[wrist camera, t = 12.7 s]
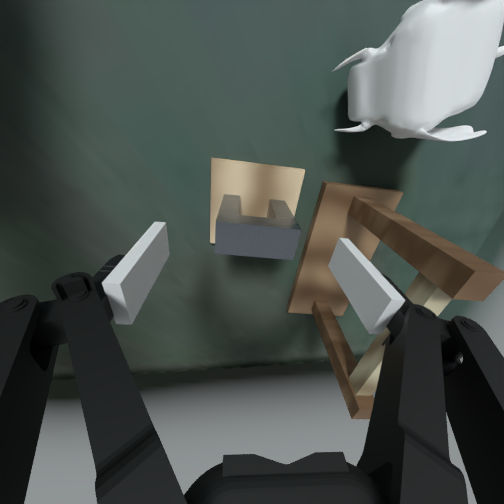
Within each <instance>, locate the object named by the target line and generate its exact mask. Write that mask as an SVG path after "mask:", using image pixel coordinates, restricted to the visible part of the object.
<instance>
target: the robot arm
mask: <svg viewBox="0 0 504 504" xmlns="http://www.w3.org/2000/svg"><path fill="white" fill-rule="evenodd" d="M169 255H170V254H169V245H168V236H167V227H166V223H165V222H154V223H153V224H152V226H151V227H150V228H149V229H148V230H147V231H146V232H145V234H144V235H143V236H142V237H141V238H140V239H139V241H138V242H137V243H136V244H135V245H134V246H133V247H132V249H131V250H130V251H129V252H128V253H127V254H126V255H117V256H115V257H113V258H112V259H110V260H109V261H108V262H107V263H106V264H105V265H104V266H103V267H102V268H101V269H100V271H98V272H97V273H96V275H95V276H94V277H93V278H92V277H91V276H90V275H89V274H88V273H84V272H77V273H71V274H68V275H65V276H62V277H61V278H59V279H57V280H56V281H55V282H54V283H53V284H52V290H53V292H54V294H55V296H56V298H57V300H52V301H45V302H39V301H38V299H37V298H36V297H35V296H33V295H21V296H17V297H13V298H10V299H8V300H5V301H3V302H1V303H0V504H24V501H25V497H26V492H27V487H28V483H29V478H30V474H31V469H32V465H33V460H34V456H35V451H36V447H37V441H38V438H39V433H40V428H41V424H42V419H43V415H44V411H45V406H46V401H47V397H48V393H49V388H50V383H51V379H52V374H53V370H54V365H55V361H56V356H57V352H58V347H59V345H60V344H64V343H68V345H69V350H70V354H71V359H72V363H73V368H74V372H75V377H76V381H77V386H78V390H79V395H80V400H81V404H82V409H83V413H84V418H85V422H86V426H87V431H88V436H89V440H90V445H91V449H92V453H93V458H94V463H95V468H96V476H97V477H96V481H95V491H96V497H97V503H98V504H468V498H467V490H466V483H465V479H464V476H463V474H462V472H461V470H460V469H459V468H457V467H456V466H454V465H453V464H452V463H451V461H450V458H449V447H448V434H447V421H446V412H447V415H448V418H449V421H450V424H451V427H452V430H453V433H454V436H455V439H456V442H457V445H458V448H459V451H460V454H461V457H462V460H463V463H464V466H465V469H466V472H467V475H468V478H469V481H470V484H471V487H472V490H473V493H474V495H475V499H476V502H477V504H504V357H503V356H502V355H501V353H500V352H499V350H498V349H497V347H496V346H495V344H494V343H493V341H492V340H491V338H490V337H489V336H488V334H487V333H486V331H485V330H484V329H483V328H482V327H481V326H480V325H478V324H477V323H476V322H475V321H473V320H471V319H468V318H466V317H463V316H455V317H454V318H453V319H452V320H451V321H447V320H443V319H440V318H438V317H437V315H436V314H435V313H434V312H432V311H431V310H430V309H428V308H426V307H424V306H421V305H418V304H413V303H412V302H411V301H410V300H409V299H408V297H407V296H406V295H405V294H404V293H403V292H402V291H401V290H400V289H398V287H397V286H396V285H394V283H393V282H392V281H391V280H390V279H389V278H388V277H387V276H385V275H384V274H382V273H380V272H379V271H378V270H377V269H376V268H375V267H374V266H373V265H372V264H371V263H370V261H369V260H368V259H367V258H366V257H365V256H364V255H363V254H362V253H361V252H360V251H359V250H358V249H357V247H356V246H355V245H354V244H353V243H352V242H351V241H350V240H349V239H347V238H339V239H338V242H337V244H336V247H335V250H334V252H333V255H332V257H331V260H330V262H329V265H328V267H329V269H330V270H331V272H332V273H333V275H334V277H335V278H336V280H337V282H338V283H339V285H340V287H341V288H342V290H343V292H344V293H345V295H346V296H347V298H348V300H349V301H350V303H351V305H352V306H353V308H354V310H355V311H356V313H357V315H358V316H359V318H360V319H361V321H362V323H363V324H364V326H365V328H366V329H367V331H368V333H369V334H382V332H383V331H384V330H385V328H386V327H387V328H388V330H389V331H390V334H389V335H388V336H387V338H386V339H385V340H384V342H383V343H382V346H384V345H385V344H386V345H385V350H384V355H383V360H382V364H381V369H380V374H379V379H378V384H377V388H376V394H375V398H374V403H373V408H372V412H371V417H370V422H369V427H368V432H367V437H366V442H365V446H364V450H363V454H362V456H361V458H360V460H359V462H358V464H357V466H354V465H352V464H350V463H348V462H346V460H345V457H344V454H343V452H320V453H319V452H318V453H313V454H311V455H309V456H306V457H304V458H302V459H300V460H297V461H295V462H293V463H290V464H287V465H286V464H282V463H279V462H276V461H273V460H270V459H266V458H264V457H261V456H258V455H255V454H242V455H241V454H240V455H223V462H222V463H221V464H218V465H216V466H214V467H213V468H211V469H209V470H208V471H206V472H205V473H204V474H202V475H201V476H200V477H199V478H198V479H197V480H196V481H195V482H194V483H193V484H192V485H191V487H190V488H189V489H188V491H187V492H186V493H185V494H184V495H183V493H182V490H181V488H180V486H179V483H178V481H177V479H176V476H175V474H174V471H173V469H172V467H171V465H170V462H169V460H168V458H167V455H166V453H165V450H164V448H163V445H162V443H161V441H160V438H159V436H158V434H157V432H156V430H155V428H154V426H153V424H152V421H151V419H150V416H149V414H148V412H147V410H146V407H145V405H144V402H143V400H142V397H141V395H140V393H139V390H138V388H137V386H136V383H135V381H134V379H133V376H132V374H131V371H130V369H129V367H128V364H127V362H126V359H125V357H124V355H123V352H122V350H121V348H120V345H119V343H118V340H117V338H116V336H115V333H114V331H113V329H112V326H111V324H110V321H111V319H112V318H113V317H114V320H115V323H116V324H127V325H132V323H133V321H134V320H135V318H136V316H137V314H138V312H139V310H140V309H141V307H142V305H143V303H144V301H145V299H146V297H147V296H148V294H149V292H150V290H151V288H152V286H153V284H154V283H155V281H156V279H157V277H158V275H159V273H160V271H161V270H162V268H163V266H164V264H165V262H166V260H167V258H168V257H169ZM462 357H463V362H462V363H461V361H460V359H461V358H462Z"/></svg>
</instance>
